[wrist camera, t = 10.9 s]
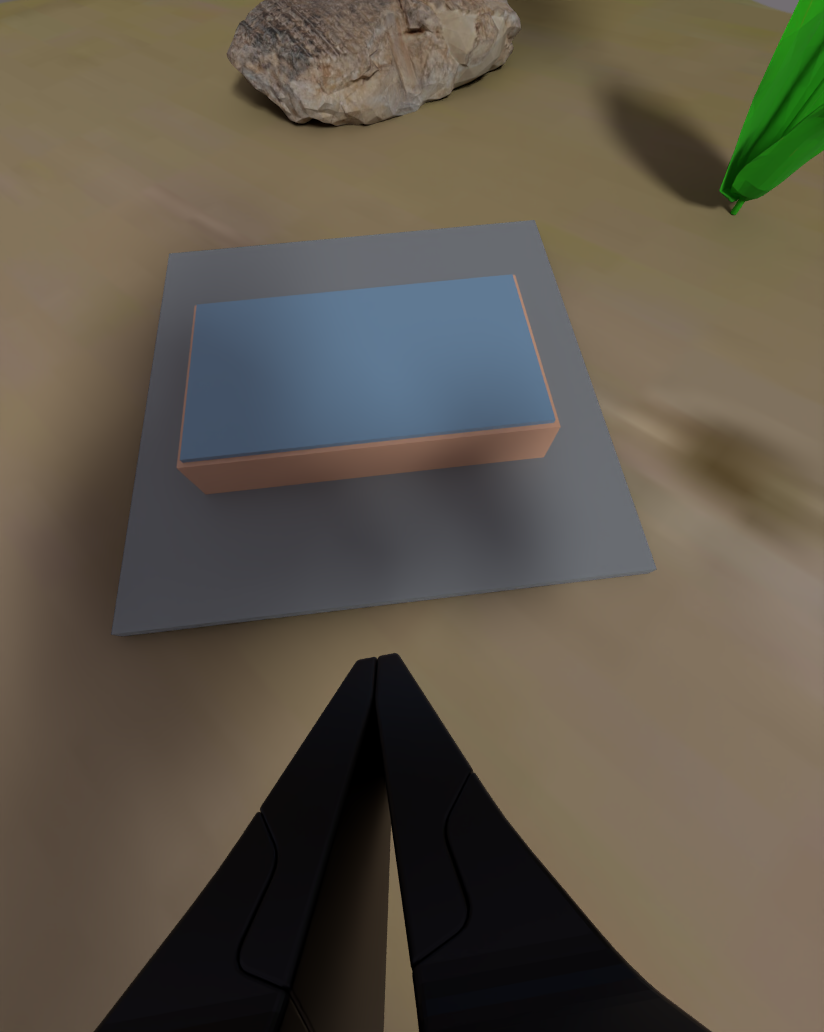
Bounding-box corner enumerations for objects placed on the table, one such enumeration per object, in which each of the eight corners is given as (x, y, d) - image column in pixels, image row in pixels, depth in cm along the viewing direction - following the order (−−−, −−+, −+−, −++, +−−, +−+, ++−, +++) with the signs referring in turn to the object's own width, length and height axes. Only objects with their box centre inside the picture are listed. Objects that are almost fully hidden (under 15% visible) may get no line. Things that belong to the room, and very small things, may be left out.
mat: (648, 573, 16) (656, 569, 15) (122, 636, 15) (111, 634, 15) (531, 231, 24) (534, 220, 23) (175, 264, 23) (169, 253, 22)
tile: (562, 423, 15) (516, 270, 18) (173, 465, 15) (192, 301, 18) (544, 457, 17) (505, 315, 20) (205, 494, 17) (217, 344, 20)
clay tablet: (295, 172, 27) (540, 70, 30) (267, 66, 22) (559, -38, 26) (213, 84, 32) (431, 6, 35) (176, -17, 27) (431, -95, 31)
